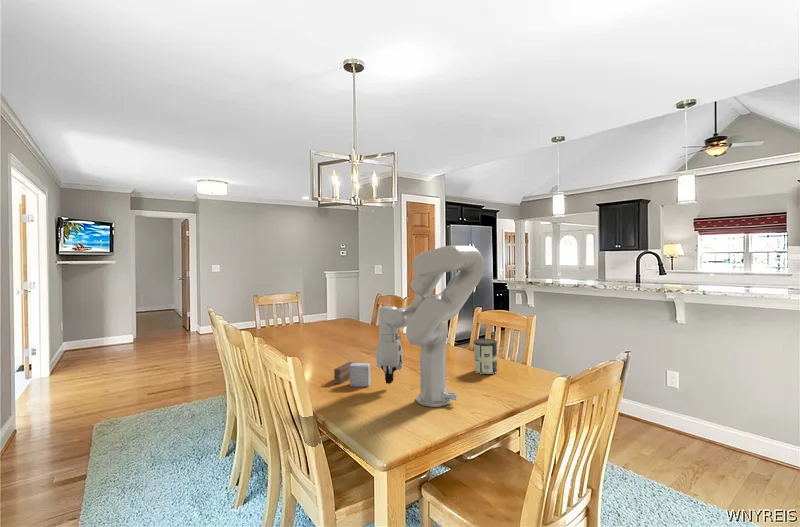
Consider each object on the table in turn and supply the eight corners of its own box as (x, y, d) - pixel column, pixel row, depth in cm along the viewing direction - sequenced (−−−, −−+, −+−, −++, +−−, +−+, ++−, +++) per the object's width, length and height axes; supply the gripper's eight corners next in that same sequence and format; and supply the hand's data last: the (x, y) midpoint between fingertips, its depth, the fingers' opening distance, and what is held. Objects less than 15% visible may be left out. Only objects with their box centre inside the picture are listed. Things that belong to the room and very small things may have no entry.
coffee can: (488, 367, 185) (488, 337, 185) (501, 373, 176) (501, 342, 175) (469, 370, 181) (469, 339, 181) (482, 376, 172) (481, 344, 171)
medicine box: (370, 383, 165) (370, 363, 165) (368, 387, 161) (368, 366, 160) (352, 383, 166) (351, 362, 166) (349, 386, 161) (349, 365, 161)
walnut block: (355, 375, 176) (355, 362, 176) (340, 383, 165) (340, 369, 165) (349, 374, 177) (349, 361, 177) (334, 383, 166) (334, 369, 166)
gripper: (409, 336, 157) (410, 382, 158) (376, 334, 164) (377, 377, 164) (401, 340, 150) (402, 388, 151) (367, 337, 157) (368, 383, 157)
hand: (389, 382), depth 158 cm, fingers closed
